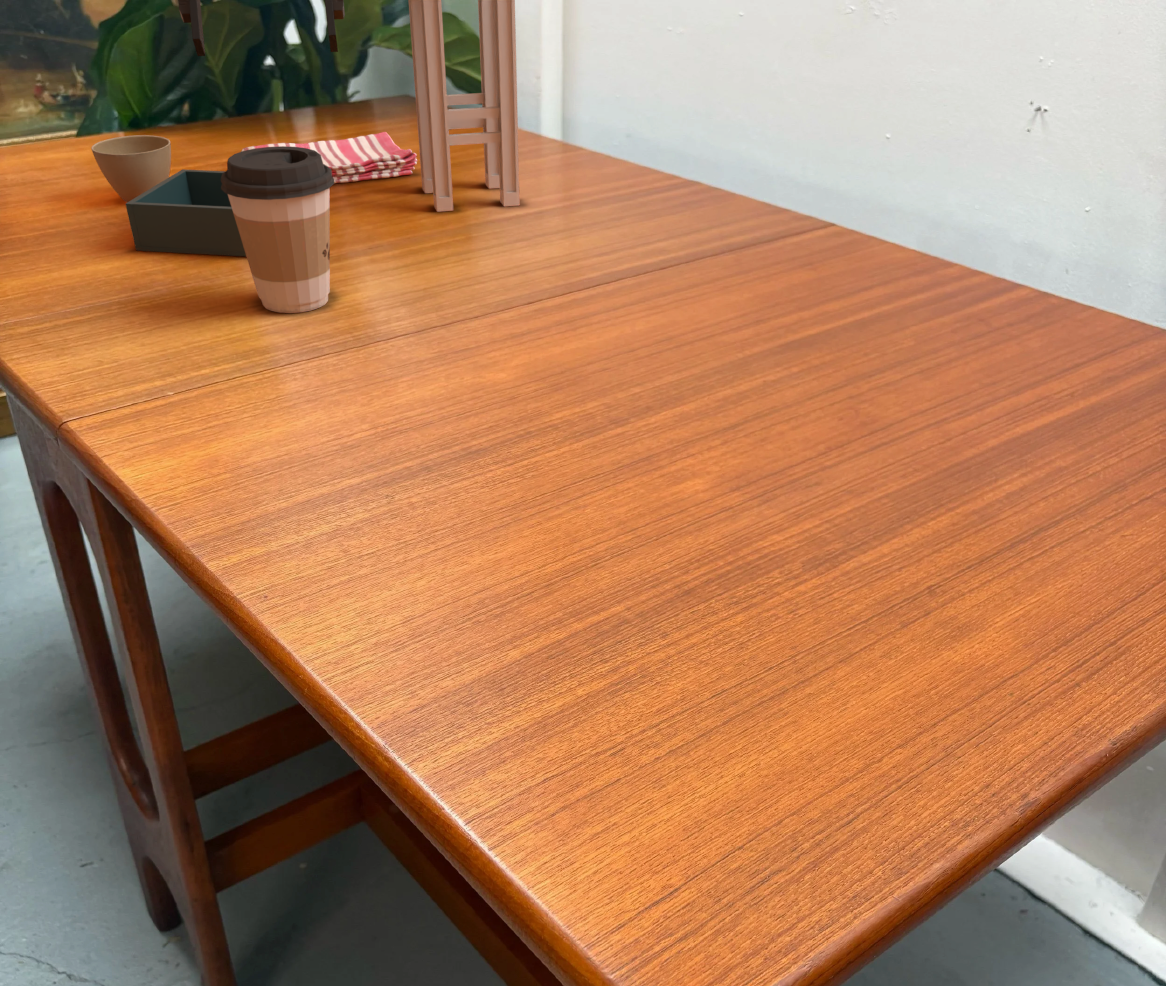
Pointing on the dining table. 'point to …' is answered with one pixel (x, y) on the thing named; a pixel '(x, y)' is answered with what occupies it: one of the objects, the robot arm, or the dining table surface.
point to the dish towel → (360, 157)
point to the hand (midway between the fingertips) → (266, 46)
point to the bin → (186, 216)
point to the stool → (467, 101)
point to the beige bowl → (133, 163)
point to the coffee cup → (283, 223)
